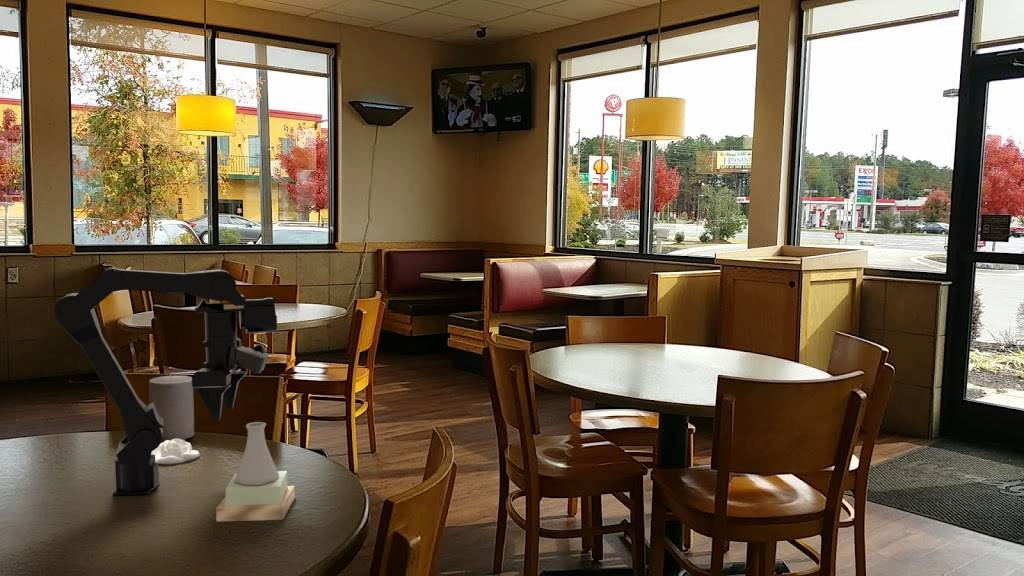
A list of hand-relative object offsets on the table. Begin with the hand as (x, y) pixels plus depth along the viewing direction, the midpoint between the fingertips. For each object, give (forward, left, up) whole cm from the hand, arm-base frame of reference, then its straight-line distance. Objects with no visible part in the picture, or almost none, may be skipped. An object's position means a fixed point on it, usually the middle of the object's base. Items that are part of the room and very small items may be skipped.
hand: (223, 414), depth 159 cm
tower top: (+10, -17, -11) cm, 23 cm away
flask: (+10, -17, -8) cm, 22 cm away
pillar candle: (-21, +34, -13) cm, 42 cm away
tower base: (+10, -17, -14) cm, 24 cm away
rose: (-15, +16, -14) cm, 25 cm away
